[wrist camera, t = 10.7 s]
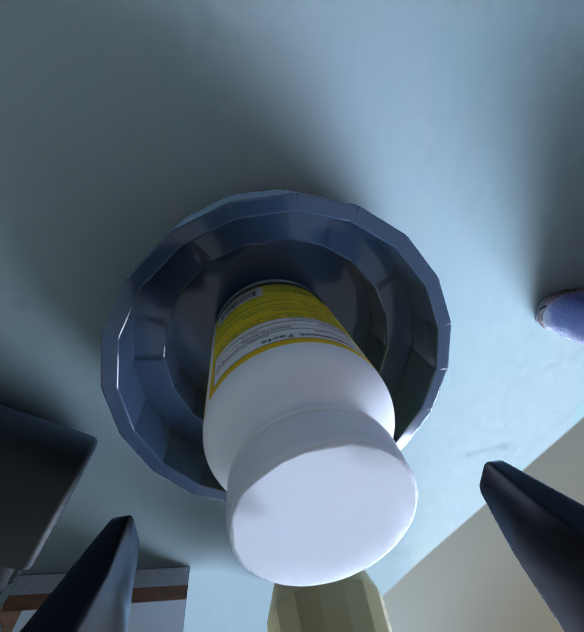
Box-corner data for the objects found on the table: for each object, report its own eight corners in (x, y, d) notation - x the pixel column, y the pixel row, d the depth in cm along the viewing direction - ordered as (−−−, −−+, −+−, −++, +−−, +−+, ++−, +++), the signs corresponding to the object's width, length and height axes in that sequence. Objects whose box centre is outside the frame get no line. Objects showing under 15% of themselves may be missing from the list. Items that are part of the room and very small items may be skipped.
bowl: (95, 388, 18) (49, 458, 14) (207, 126, 15) (196, 103, 10) (318, 460, 23) (340, 531, 18) (446, 272, 19) (514, 302, 15)
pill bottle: (307, 392, 20) (384, 611, 10) (200, 369, 18) (162, 605, 8) (347, 294, 18) (495, 441, 8) (233, 259, 16) (236, 388, 6)
